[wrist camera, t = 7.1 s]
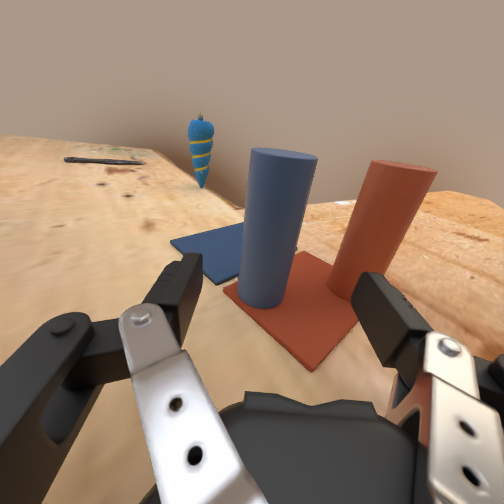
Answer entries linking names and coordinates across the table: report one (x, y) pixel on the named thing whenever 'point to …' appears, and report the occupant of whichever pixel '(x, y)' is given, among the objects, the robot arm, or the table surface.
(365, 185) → the terracotta skittle
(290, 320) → the terracotta mat
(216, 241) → the blue mat
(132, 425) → the table surface
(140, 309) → the robot arm
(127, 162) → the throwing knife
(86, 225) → the table surface
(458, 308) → the table surface
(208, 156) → the ornament
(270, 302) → the blue cylinder
